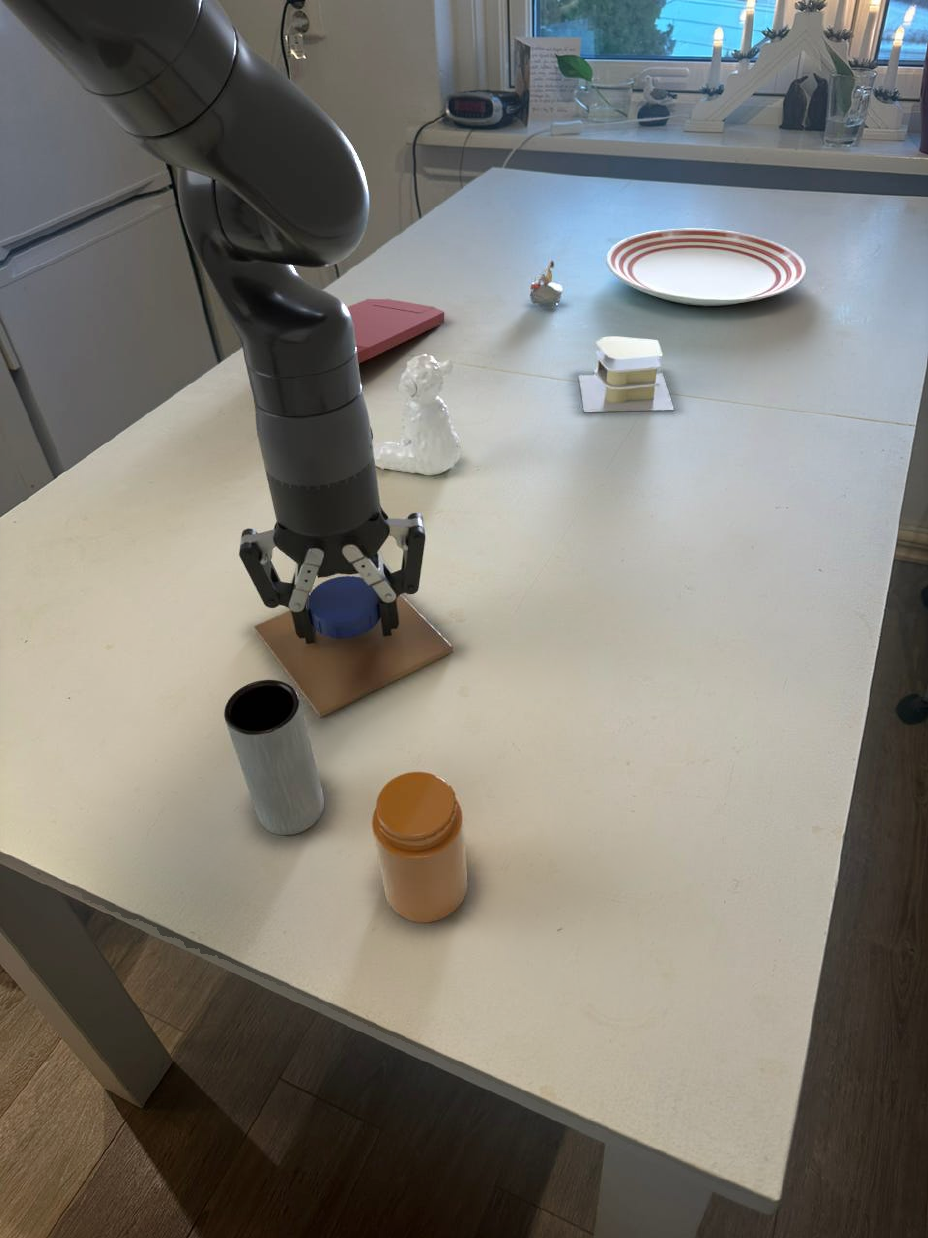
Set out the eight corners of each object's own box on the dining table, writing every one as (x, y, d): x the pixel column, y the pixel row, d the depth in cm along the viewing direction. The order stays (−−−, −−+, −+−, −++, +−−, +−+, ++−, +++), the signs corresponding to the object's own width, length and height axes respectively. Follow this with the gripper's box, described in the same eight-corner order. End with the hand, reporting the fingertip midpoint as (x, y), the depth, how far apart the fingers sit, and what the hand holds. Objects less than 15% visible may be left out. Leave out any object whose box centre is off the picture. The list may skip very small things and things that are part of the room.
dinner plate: (783, 247, 133) (788, 224, 131) (821, 321, 113) (827, 295, 111) (602, 249, 136) (603, 226, 134) (607, 321, 116) (608, 297, 114)
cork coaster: (320, 718, 65) (318, 713, 65) (255, 631, 73) (253, 625, 73) (453, 652, 70) (453, 646, 70) (379, 576, 78) (378, 571, 77)
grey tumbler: (326, 830, 58) (300, 727, 51) (257, 841, 58) (222, 739, 51) (323, 776, 61) (298, 673, 54) (258, 787, 61) (224, 684, 54)
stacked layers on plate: (662, 373, 104) (667, 328, 101) (673, 410, 98) (679, 364, 94) (578, 375, 105) (580, 331, 101) (584, 412, 98) (586, 366, 94)
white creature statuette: (431, 429, 97) (424, 324, 89) (487, 457, 92) (484, 348, 84) (366, 464, 92) (351, 356, 84) (421, 494, 87) (411, 383, 79)
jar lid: (393, 602, 71) (391, 585, 70) (360, 646, 67) (357, 629, 66) (333, 585, 73) (330, 569, 71) (297, 628, 69) (294, 611, 68)
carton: (374, 331, 125) (263, 381, 106) (372, 296, 122) (259, 341, 104) (448, 345, 121) (347, 400, 102) (449, 309, 118) (345, 358, 99)
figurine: (563, 311, 119) (565, 266, 115) (531, 313, 119) (531, 268, 115) (559, 296, 123) (561, 252, 119) (528, 297, 123) (528, 254, 119)
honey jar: (402, 936, 52) (388, 856, 46) (372, 867, 56) (356, 785, 50) (481, 902, 54) (476, 820, 48) (447, 837, 57) (439, 754, 51)
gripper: (206, 492, 56) (257, 675, 68) (426, 471, 57) (441, 655, 69) (217, 433, 62) (263, 612, 73) (418, 415, 63) (433, 594, 74)
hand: (349, 632), depth 71 cm, fingers closed on jar lid, 5 cm apart
